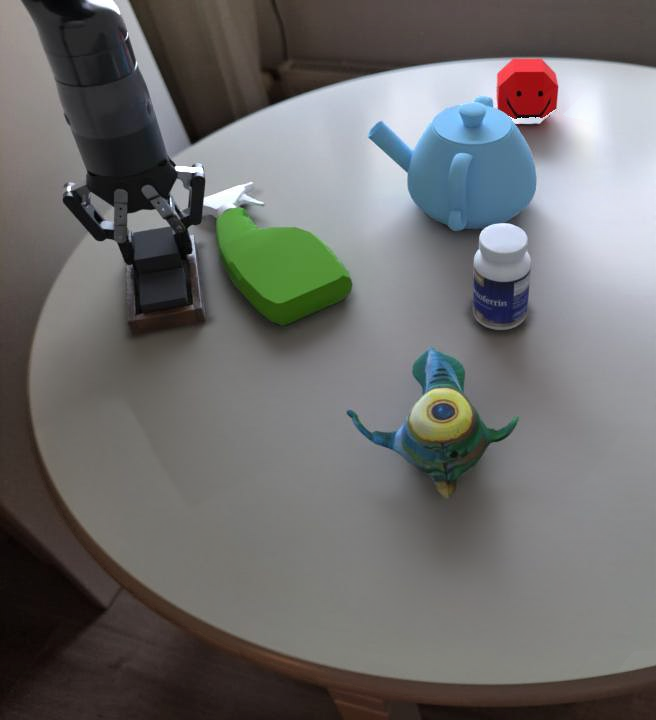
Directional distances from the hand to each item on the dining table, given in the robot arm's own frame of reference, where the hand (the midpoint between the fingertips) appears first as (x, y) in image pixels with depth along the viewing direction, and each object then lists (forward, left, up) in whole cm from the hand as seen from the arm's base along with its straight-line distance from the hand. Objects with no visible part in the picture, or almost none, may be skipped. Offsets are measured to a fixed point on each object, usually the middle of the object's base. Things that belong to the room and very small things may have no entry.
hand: (160, 259), depth 87 cm
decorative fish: (+22, -31, -2) cm, 38 cm away
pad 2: (0, -6, -2) cm, 6 cm away
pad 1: (0, 0, 0) cm, 0 cm away
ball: (+49, +21, -2) cm, 54 cm away
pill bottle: (+33, -17, -2) cm, 37 cm away
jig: (0, -3, -2) cm, 3 cm away
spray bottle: (+11, 0, -2) cm, 11 cm away
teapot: (+34, +4, -2) cm, 34 cm away
